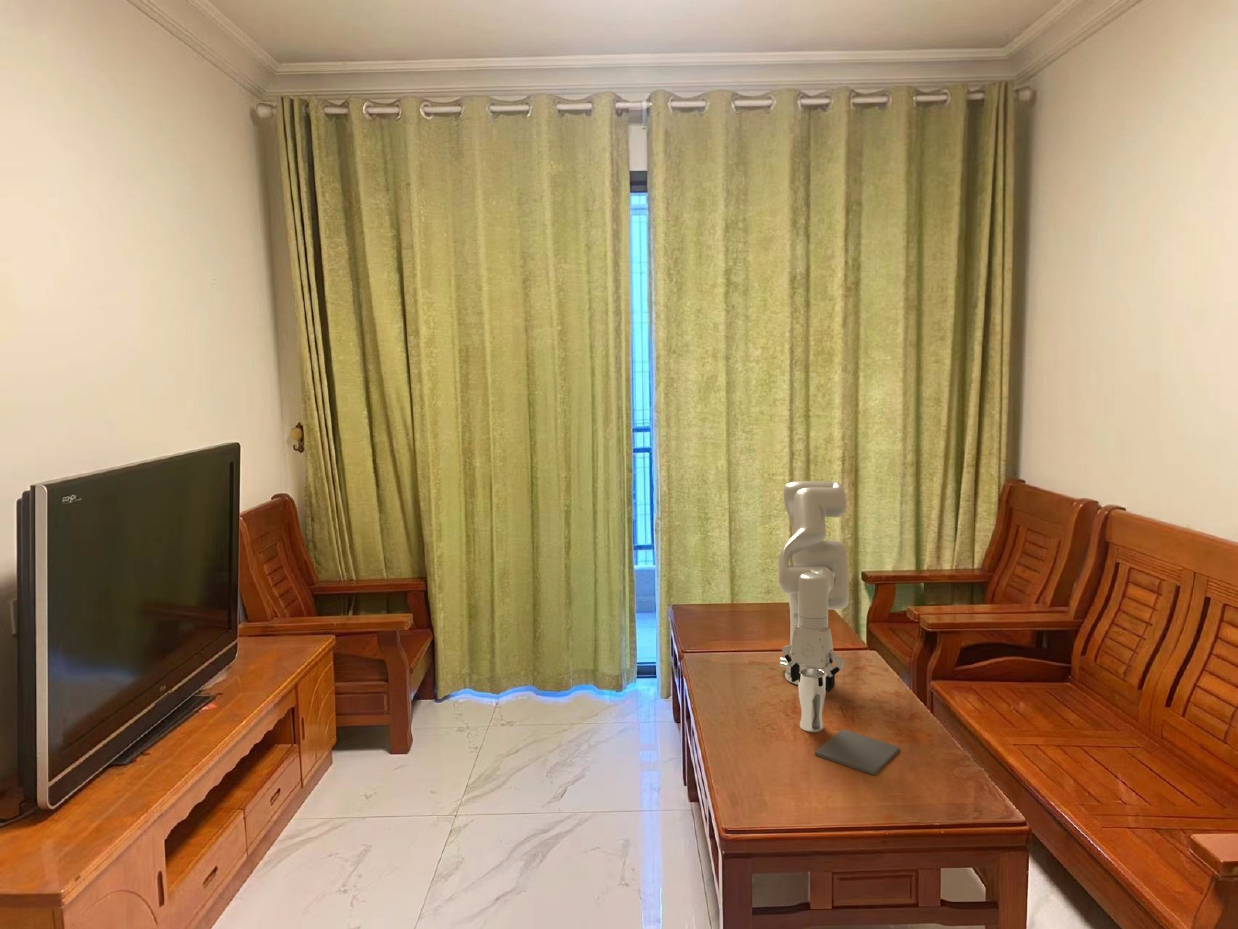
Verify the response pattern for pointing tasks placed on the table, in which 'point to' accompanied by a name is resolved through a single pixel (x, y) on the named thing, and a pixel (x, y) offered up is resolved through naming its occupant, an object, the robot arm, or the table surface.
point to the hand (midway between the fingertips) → (812, 685)
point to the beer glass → (811, 698)
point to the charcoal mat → (857, 751)
